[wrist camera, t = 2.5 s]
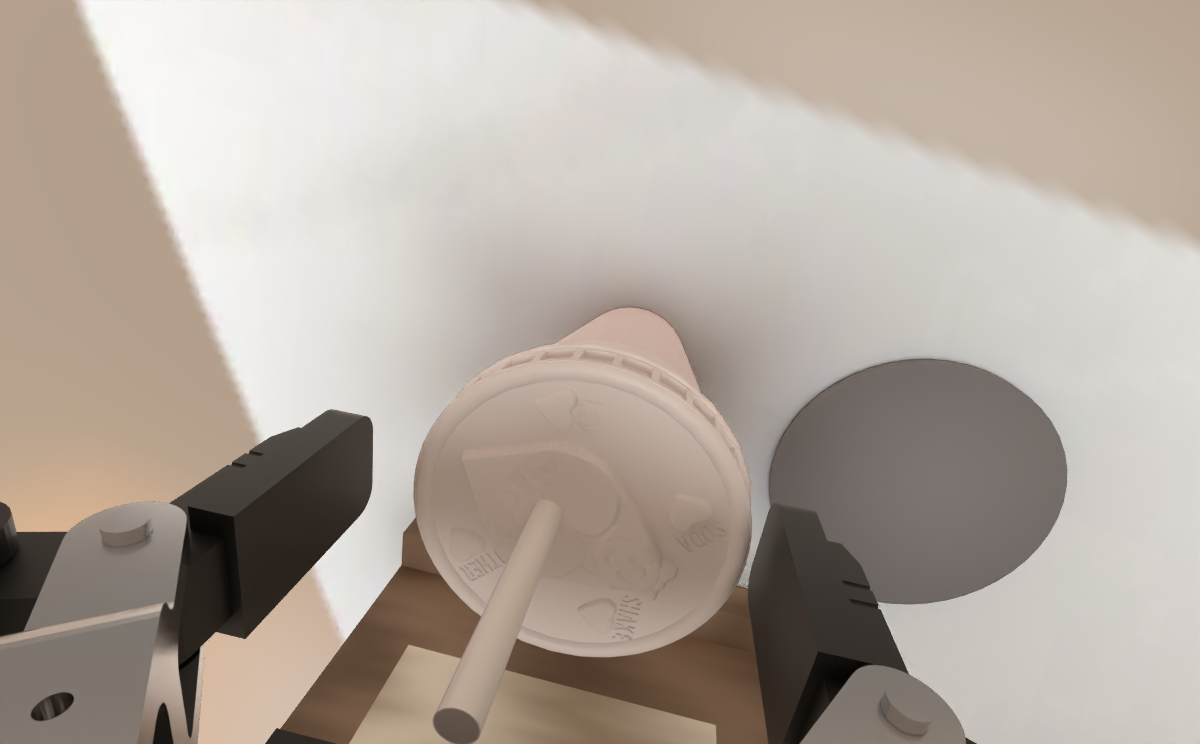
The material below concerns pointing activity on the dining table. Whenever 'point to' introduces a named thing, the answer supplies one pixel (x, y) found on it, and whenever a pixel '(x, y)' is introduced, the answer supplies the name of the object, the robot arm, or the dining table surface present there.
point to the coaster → (925, 476)
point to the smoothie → (581, 504)
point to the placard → (530, 678)
